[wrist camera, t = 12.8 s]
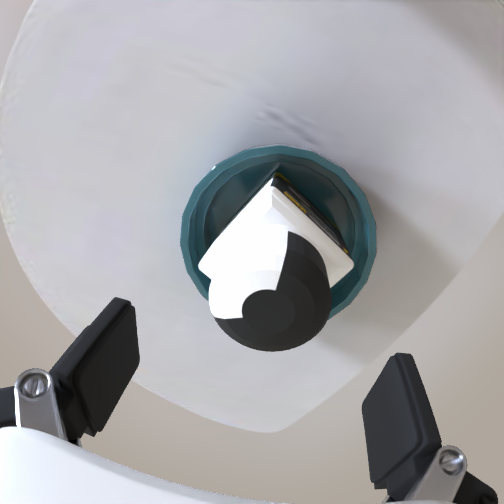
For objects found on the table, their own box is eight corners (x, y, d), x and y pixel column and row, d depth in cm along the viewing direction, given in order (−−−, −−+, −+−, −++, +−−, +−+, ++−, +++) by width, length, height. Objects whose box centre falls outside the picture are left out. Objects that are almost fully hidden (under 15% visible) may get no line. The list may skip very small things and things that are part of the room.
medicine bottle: (340, 230, 24) (375, 310, 13) (281, 285, 27) (271, 386, 16) (277, 169, 23) (262, 204, 12) (219, 232, 26) (167, 309, 15)
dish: (208, 131, 23) (191, 132, 19) (381, 165, 22) (398, 173, 18) (192, 284, 29) (176, 310, 25) (337, 313, 28) (343, 343, 24)
